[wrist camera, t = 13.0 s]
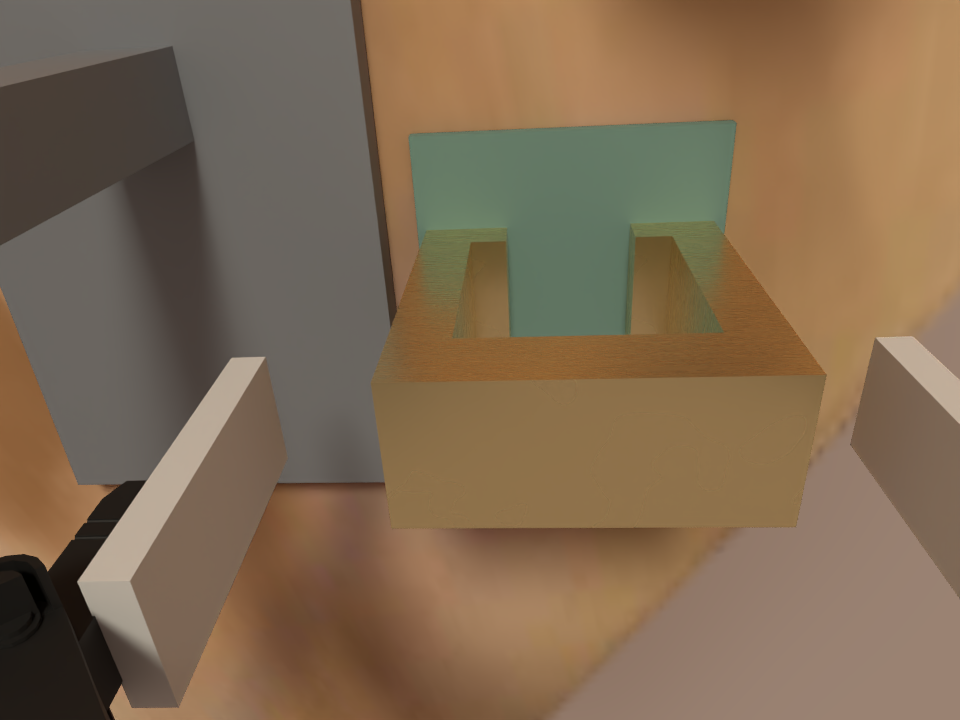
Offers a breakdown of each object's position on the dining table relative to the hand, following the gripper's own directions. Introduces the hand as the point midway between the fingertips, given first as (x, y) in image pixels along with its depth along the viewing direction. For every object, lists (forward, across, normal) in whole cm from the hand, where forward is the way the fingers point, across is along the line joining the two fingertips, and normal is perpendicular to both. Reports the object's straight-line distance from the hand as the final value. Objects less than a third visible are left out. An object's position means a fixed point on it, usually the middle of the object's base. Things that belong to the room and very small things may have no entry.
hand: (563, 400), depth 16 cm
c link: (+7, +1, 0) cm, 7 cm away
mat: (+7, +1, 0) cm, 7 cm away
